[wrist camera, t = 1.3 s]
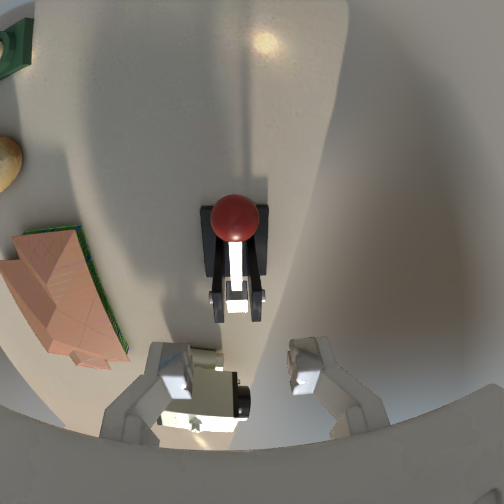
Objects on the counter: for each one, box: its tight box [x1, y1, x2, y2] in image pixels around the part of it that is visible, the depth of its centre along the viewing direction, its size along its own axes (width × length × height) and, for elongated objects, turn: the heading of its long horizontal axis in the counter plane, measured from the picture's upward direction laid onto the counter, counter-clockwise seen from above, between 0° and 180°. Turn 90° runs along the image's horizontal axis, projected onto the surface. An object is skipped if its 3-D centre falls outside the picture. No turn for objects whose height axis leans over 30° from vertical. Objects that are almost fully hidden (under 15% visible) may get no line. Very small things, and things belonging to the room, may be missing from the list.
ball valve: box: [157, 348, 251, 433], centre depth 46 cm, size 18×8×18 cm, turn 78°
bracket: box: [200, 205, 269, 323], centre depth 35 cm, size 11×9×14 cm
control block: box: [0, 18, 34, 80], centre depth 18 cm, size 10×8×4 cm
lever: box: [211, 194, 259, 312], centre depth 25 cm, size 15×4×4 cm, turn 0°
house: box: [0, 225, 130, 370], centre depth 41 cm, size 23×33×8 cm
